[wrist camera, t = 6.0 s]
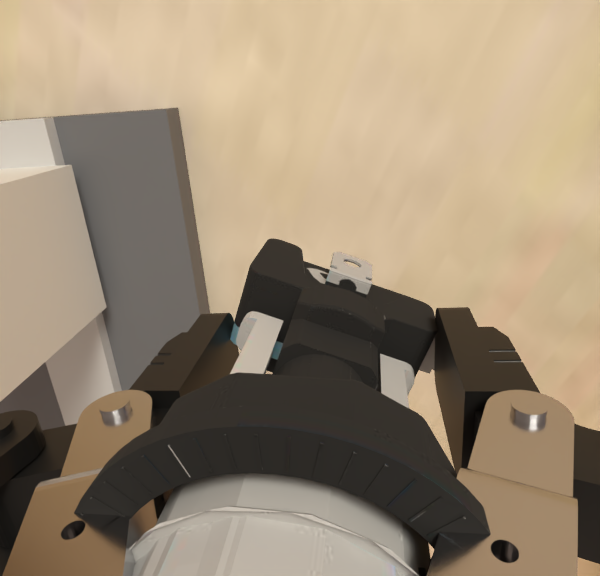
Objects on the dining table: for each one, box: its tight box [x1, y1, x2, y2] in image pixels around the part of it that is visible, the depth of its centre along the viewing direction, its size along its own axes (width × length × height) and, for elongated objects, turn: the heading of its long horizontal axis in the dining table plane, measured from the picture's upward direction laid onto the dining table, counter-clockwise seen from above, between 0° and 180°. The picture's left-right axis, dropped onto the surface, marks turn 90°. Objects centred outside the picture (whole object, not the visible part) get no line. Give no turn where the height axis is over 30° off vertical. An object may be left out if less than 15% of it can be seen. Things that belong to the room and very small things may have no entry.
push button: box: [74, 239, 491, 576], centre depth 9 cm, size 7×5×10 cm
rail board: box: [0, 108, 210, 430], centre depth 23 cm, size 14×28×10 cm, turn 4°
